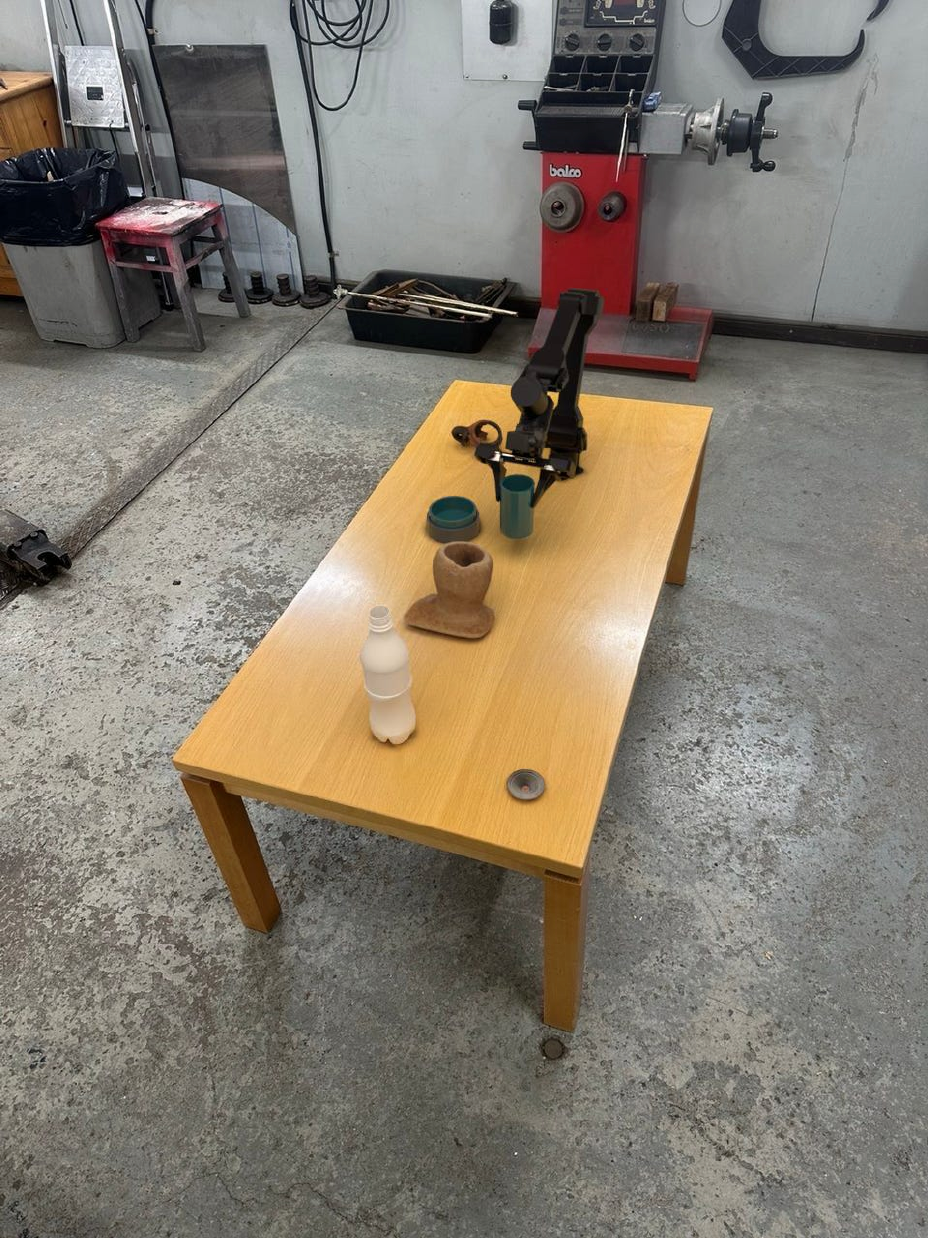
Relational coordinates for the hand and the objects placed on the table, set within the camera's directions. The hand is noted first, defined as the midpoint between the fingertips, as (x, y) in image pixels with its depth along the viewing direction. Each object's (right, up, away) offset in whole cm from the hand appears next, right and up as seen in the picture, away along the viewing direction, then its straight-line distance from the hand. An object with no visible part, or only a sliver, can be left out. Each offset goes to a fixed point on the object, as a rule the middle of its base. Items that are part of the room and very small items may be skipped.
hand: (514, 504), depth 160 cm
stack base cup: (-12, -3, +17) cm, 21 cm away
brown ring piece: (-6, +19, +42) cm, 46 cm away
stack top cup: (-12, -3, +17) cm, 21 cm away
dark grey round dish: (0, -47, -35) cm, 58 cm away
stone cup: (-11, -22, -5) cm, 25 cm away
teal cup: (+1, -4, +5) cm, 7 cm away
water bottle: (-21, -40, -25) cm, 51 cm away
